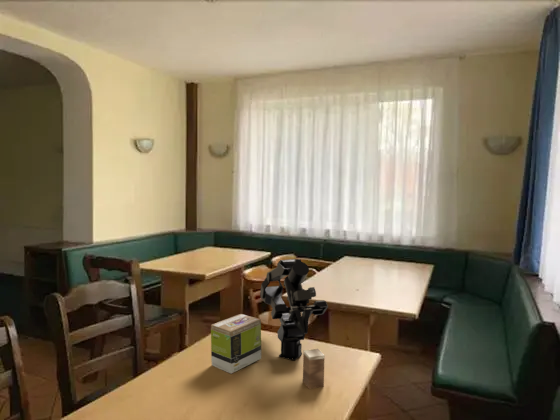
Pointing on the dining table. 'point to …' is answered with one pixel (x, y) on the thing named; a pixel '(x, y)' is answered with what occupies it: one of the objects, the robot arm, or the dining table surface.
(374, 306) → the dining table surface
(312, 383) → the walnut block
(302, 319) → the robot arm
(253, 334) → the tea box
